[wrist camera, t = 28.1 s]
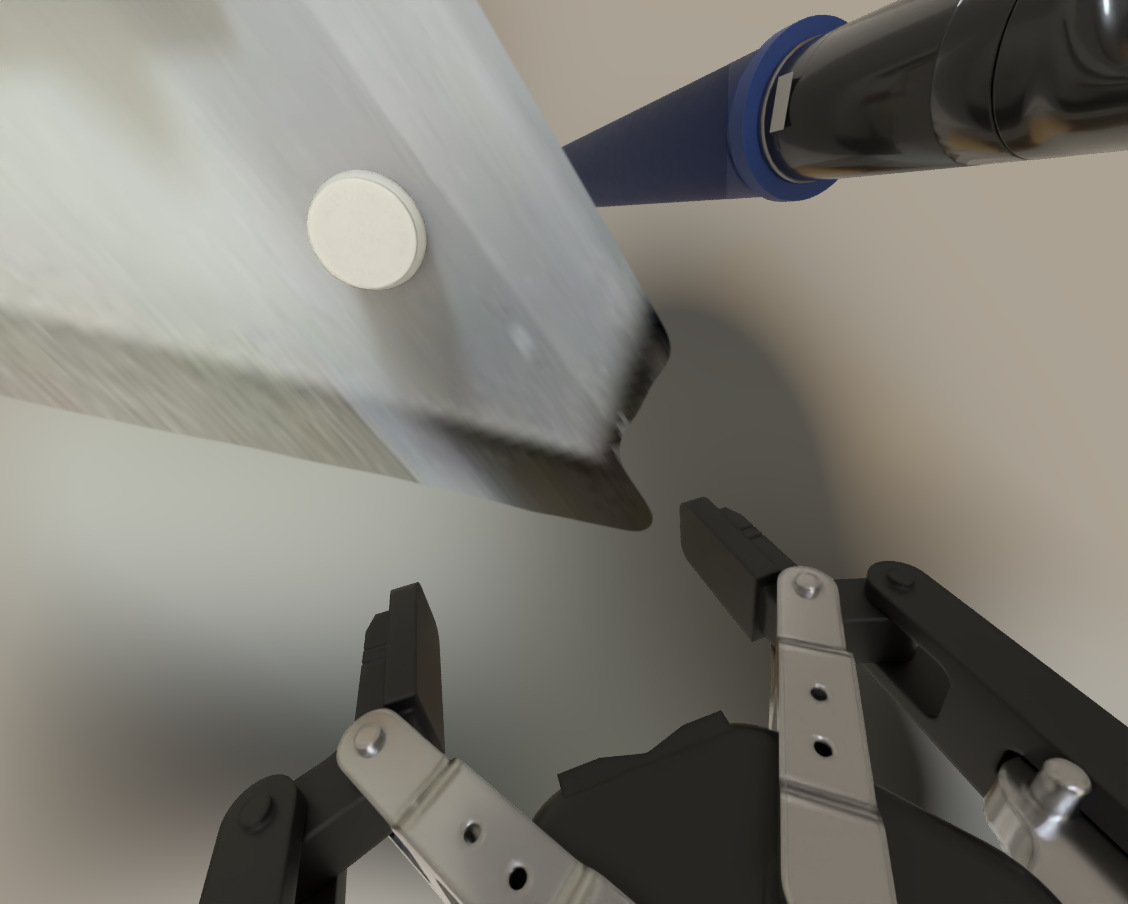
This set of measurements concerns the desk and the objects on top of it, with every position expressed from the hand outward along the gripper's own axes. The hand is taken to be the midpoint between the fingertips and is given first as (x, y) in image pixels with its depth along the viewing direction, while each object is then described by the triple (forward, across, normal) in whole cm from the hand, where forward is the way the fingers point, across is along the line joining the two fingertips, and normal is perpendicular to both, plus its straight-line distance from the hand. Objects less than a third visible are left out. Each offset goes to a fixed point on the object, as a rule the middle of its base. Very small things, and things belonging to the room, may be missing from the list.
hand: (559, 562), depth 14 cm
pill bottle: (+28, +4, -9) cm, 30 cm away
